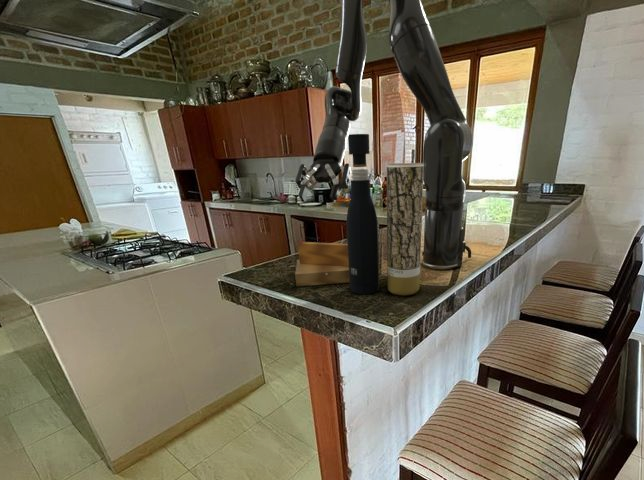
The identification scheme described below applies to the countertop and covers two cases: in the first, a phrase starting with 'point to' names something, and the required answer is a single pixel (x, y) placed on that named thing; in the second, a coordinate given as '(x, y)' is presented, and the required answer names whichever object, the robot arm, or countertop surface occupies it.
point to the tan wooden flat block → (323, 253)
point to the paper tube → (404, 226)
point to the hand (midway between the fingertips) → (317, 200)
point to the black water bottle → (362, 223)
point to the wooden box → (320, 274)
